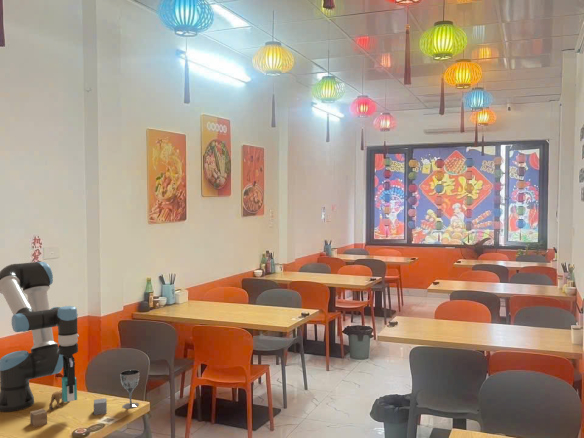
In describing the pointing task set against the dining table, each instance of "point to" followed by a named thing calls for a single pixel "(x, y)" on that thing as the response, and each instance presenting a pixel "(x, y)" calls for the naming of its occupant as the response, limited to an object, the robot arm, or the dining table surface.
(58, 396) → the lion figurine
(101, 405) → the grey block
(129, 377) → the wine glass
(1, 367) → the robot arm
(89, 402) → the dining table surface
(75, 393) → the teal block
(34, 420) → the walnut block
